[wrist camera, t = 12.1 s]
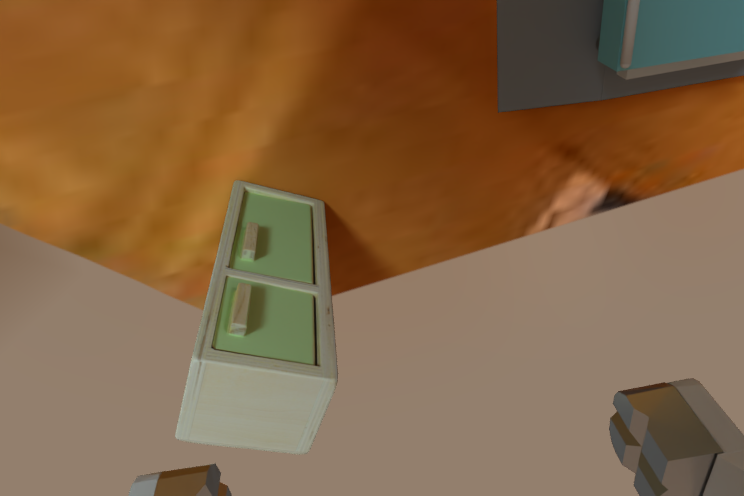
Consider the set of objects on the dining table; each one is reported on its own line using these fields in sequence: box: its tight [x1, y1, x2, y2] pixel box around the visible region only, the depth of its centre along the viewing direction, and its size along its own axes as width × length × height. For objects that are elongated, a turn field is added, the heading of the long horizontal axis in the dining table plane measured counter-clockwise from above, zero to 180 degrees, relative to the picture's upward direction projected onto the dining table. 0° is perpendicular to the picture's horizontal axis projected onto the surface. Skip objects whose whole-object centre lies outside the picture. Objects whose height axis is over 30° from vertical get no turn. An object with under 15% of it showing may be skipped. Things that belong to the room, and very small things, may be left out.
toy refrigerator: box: [175, 180, 338, 454], centre depth 38 cm, size 8×7×21 cm
